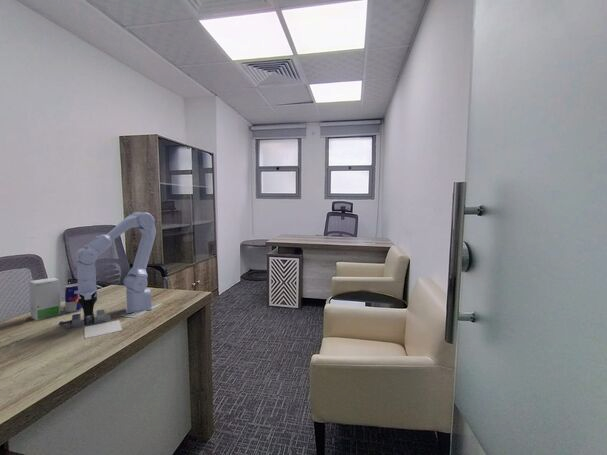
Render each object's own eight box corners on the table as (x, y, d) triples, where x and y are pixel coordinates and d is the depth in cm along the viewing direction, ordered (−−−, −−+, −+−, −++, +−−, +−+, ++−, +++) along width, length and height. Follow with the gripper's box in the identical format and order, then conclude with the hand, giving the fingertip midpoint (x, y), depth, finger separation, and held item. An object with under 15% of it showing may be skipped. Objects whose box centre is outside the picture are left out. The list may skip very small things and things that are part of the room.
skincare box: (35, 321, 112) (33, 283, 111) (30, 317, 116) (27, 281, 115) (62, 314, 120) (59, 279, 118) (56, 311, 123) (53, 276, 122)
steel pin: (94, 319, 114) (93, 302, 113) (94, 322, 111) (93, 305, 111) (84, 321, 112) (83, 304, 111) (84, 324, 109) (83, 306, 109)
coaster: (119, 321, 113) (119, 320, 113) (122, 331, 105) (122, 329, 104) (84, 329, 106) (84, 327, 106) (84, 340, 98) (84, 338, 98)
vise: (109, 316, 119) (109, 308, 118) (111, 321, 113) (110, 313, 113) (59, 326, 109) (59, 317, 108) (58, 332, 103) (57, 323, 103)
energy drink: (72, 315, 119) (71, 287, 118) (62, 313, 120) (61, 286, 119) (84, 310, 125) (83, 284, 124) (75, 309, 126) (73, 283, 125)
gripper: (74, 276, 113) (75, 309, 114) (73, 284, 102) (75, 320, 103) (95, 274, 118) (97, 305, 119) (97, 281, 106) (98, 316, 107)
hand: (88, 312), depth 111 cm, fingers open, 7 cm apart
